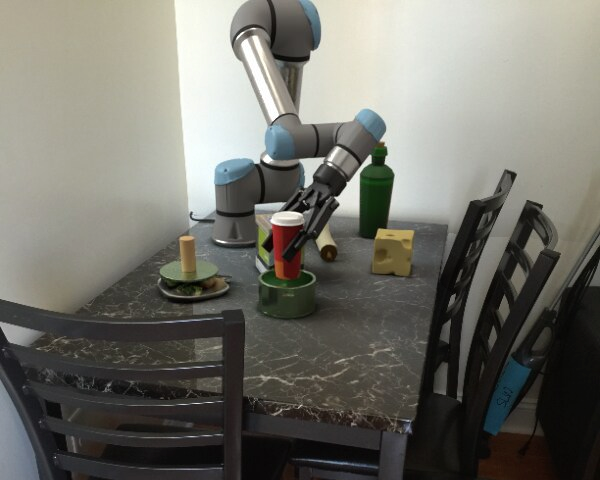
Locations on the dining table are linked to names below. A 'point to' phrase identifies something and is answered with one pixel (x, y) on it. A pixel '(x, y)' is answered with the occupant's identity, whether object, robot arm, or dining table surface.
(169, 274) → the lid
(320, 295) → the dining table surface
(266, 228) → the tea box
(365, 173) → the bottle
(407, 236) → the cheese
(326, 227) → the rolling pin
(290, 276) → the paper cup
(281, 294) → the pot
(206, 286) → the salad plate
